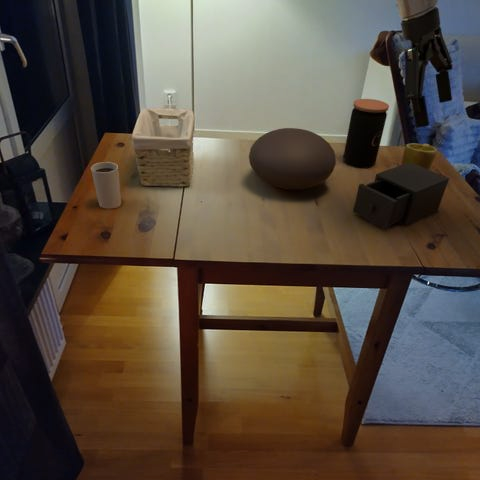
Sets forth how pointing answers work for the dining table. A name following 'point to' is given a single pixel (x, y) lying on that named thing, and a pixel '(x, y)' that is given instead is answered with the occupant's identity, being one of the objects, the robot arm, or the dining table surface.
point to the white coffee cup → (107, 184)
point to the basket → (164, 147)
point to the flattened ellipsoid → (292, 158)
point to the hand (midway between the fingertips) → (434, 113)
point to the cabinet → (417, 189)
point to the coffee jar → (365, 132)
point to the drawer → (382, 203)
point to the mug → (419, 155)
